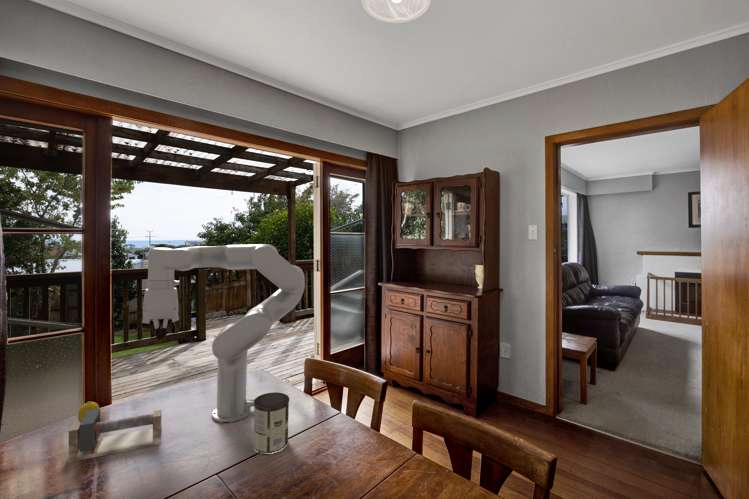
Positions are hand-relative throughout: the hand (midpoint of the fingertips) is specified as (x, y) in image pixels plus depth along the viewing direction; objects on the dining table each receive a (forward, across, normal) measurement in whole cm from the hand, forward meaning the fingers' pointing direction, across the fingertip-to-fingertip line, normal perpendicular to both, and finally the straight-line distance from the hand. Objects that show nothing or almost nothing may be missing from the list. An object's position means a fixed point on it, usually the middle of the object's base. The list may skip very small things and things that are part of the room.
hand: (160, 339), depth 123 cm
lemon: (+27, +20, -3) cm, 34 cm away
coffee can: (+27, -31, +30) cm, 51 cm away
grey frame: (+25, +16, +13) cm, 32 cm away
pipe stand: (+27, +10, +12) cm, 31 cm away
